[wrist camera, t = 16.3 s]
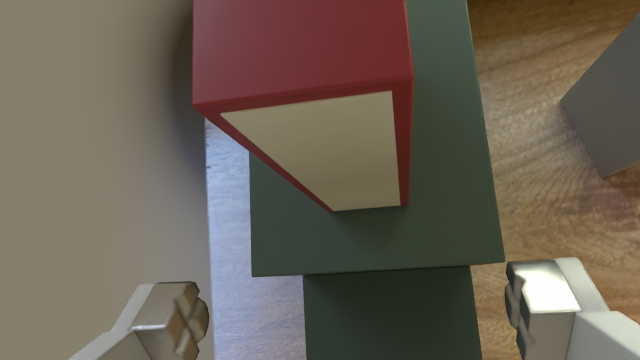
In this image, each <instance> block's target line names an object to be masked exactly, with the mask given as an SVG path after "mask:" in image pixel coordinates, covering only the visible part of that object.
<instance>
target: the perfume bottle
mask: <svg viewBox="0 0 640 360" xmlns="http://www.w3.org/2000/svg"><path fill="white" fill-rule="evenodd" d="M561 102H562V104H563V106H564V108H565V110H566V111H567V113H568V115H569V117H570V119H571V121H572V123H573V125H574V127H575V129H576V130H577V132H578V134H579V136H580V138H581V140H582V142H583V144H584V146H585V147H586V149H587V151H588V153H589V155H590V157H591V159H592V161H593V163H594V164H595V166H596V168H597V170H598V172H599V174H600V176H601V178H603V177H606V176H609V175H612V174H615V173H617V172H620V171H623V170H626V169H629V168H632V167H635V166H638V165H640V12H639V13H638V15H637V16H636V17H635V18H634V19H633V20H632V21H631V22H630V23H629V25H628V26H627V27H626V28H625V29H624V30H623V31H622V32H621V33H620V35H619V36H618V37H617V38H616V39H615V40H614V41H613V42H612V43H611V44H610V46H609V47H608V48H607V49H606V50H605V51H604V52H603V53H602V54H601V56H600V57H599V58H598V59H597V60H596V61H595V62H594V63H593V64H592V66H591V67H590V68H589V69H588V70H587V71H586V72H585V73H584V74H583V76H582V77H581V78H580V79H579V80H578V81H577V82H576V83H575V84H574V86H573V87H572V88H571V89H570V90H569V91H568V92H567V93H566V94H565V96H564V97H563V98H562V99H561Z"/></svg>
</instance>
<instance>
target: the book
mask: <svg viewBox="0 0 640 360" xmlns="http://www.w3.org/2000/svg"><path fill="white" fill-rule="evenodd" d="M192 59H193V60H192V61H193V62H192V106H193V108H194V109H195V110H197V111H198V112H199V113H200V114H202V115H203V116H204V117H205V118H207V119H208V120H209V121H211V122H212V123H213V124H215V125H216V126H217V127H218V128H220V129H221V130H222V131H224V132H225V133H226V134H228V135H229V136H230V137H231V138H233V139H234V140H235V141H237V142H238V143H239V144H241V145H242V146H243V147H244V148H246V149H247V150H248V151H250V152H251V153H252V154H254V155H255V156H256V157H257V158H259V159H260V160H261V161H263V162H264V163H265V164H267V165H268V166H269V167H270V168H272V169H273V170H274V171H276V172H277V173H278V174H279V175H281V176H282V177H283V178H285V179H286V180H287V181H289V182H290V183H291V184H292V185H294V186H295V187H296V188H298V189H299V190H300V191H302V192H303V193H304V194H305V195H307V196H308V197H309V198H311V199H312V200H313V201H315V202H316V203H317V204H318V205H320V206H321V207H322V208H324V209H325V210H326V211H328V212H330V211H342V210H353V209H365V208H377V207H389V206H400V205H408V204H409V188H410V167H411V146H412V125H413V104H414V83H415V71H414V62H413V54H412V45H411V36H410V28H409V19H408V10H407V2H406V0H193V58H192Z"/></svg>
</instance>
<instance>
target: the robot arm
mask: <svg viewBox="0 0 640 360" xmlns="http://www.w3.org/2000/svg"><path fill="white" fill-rule="evenodd" d="M506 275H507V278H508V281H509V283H508V284H507V285H506V286H505V305H506V311H507V315H508V318H509V321H510V324H511V326H512V327H514V328H515V329H516V330H517V338H516V342H517V345H518V348H519V351H520V354H521V357H522V359H523V360H640V324H638V323H636V322H635V321H633V320H632V319H630V318H628V317H627V316H625V315H624V314H622V313H620V312H619V311H610V309H609V307H608V306H607V304H606V302H605V301H604V299H603V297H602V296H601V294H600V293H599V291H598V289H597V288H596V286H595V284H594V283H593V281H592V279H591V278H590V276H589V274H588V273H587V271H586V269H585V268H584V266H583V264H582V263H581V261H580V260H579V259H578V258H576V257H567V258H553V259H539V260H525V261H511V262H508V263H507V266H506ZM198 294H199V288H198V286H197V285H196V283H195V282H191V281H189V282H159V283H143V284H141V285H139V286H138V287H137V288H136V290H135V292H134V293H133V295H132V297H131V298H130V300H129V302H128V303H127V305H126V306H125V308H124V310H123V311H122V313H121V314H120V316H119V318H118V319H117V321H116V323H115V324H114V326H113V328H112V329H111V331H109V332H104V333H103V334H101V335H100V336H99V337H97V338H96V339H95V340H93V341H92V342H91V343H89V344H88V345H87V346H85V347H84V348H83V349H81V350H80V351H79V352H77V353H76V354H75V355H74V356H72V357H71V358H70V359H68V360H196V359H197V356H198V353H199V348H198V345H197V343H198V342H199V341H200V340H202V339H203V338H204V337H205V335H206V332H207V329H208V324H209V312H208V308H207V306H206V303H205V302H204V301H203V300H201V299H200V298H198V297H197V296H198Z"/></svg>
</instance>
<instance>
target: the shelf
mask: <svg viewBox="0 0 640 360" xmlns="http://www.w3.org/2000/svg"><path fill="white" fill-rule="evenodd" d="M406 2H407V10H408V19H409V28H410V36H411V45H412V54H413V62H414V71H415V83H414V104H413V125H412V146H411V167H410V188H409V204H408V205H400V206H389V207H377V208H365V209H353V210H342V211H330V212H328V211H326V210H325V209H324V208H322V207H321V206H320V205H318V204H317V203H316V202H315V201H313V200H312V199H311V198H309V197H308V196H307V195H305V194H304V193H303V192H302V191H300V190H299V189H298V188H296V187H295V186H294V185H292V184H291V183H290V182H289V181H287V180H286V179H285V178H283V177H282V176H281V175H279V174H278V173H277V172H276V171H274V170H273V169H272V168H270V167H269V166H268V165H267V164H265V163H264V162H263V161H261V160H260V159H259V158H257V157H256V156H255V155H254V154H252V153H251V152H250V151H249V165H250V216H251V267H252V277H270V276H297V275H303V292H304V314H305V336H306V358H307V360H482V353H481V346H480V338H479V331H478V323H477V315H476V308H475V300H474V292H473V285H472V277H471V269H470V266H471V265H482V264H493V263H503V262H505V255H504V249H503V242H502V235H501V229H500V222H499V215H498V208H497V202H496V195H495V188H494V182H493V175H492V168H491V162H490V155H489V148H488V141H487V135H486V128H485V121H484V115H483V108H482V101H481V95H480V88H479V81H478V75H477V68H476V61H475V54H474V48H473V41H472V34H471V28H470V21H469V14H468V8H467V1H466V0H406Z"/></svg>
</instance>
